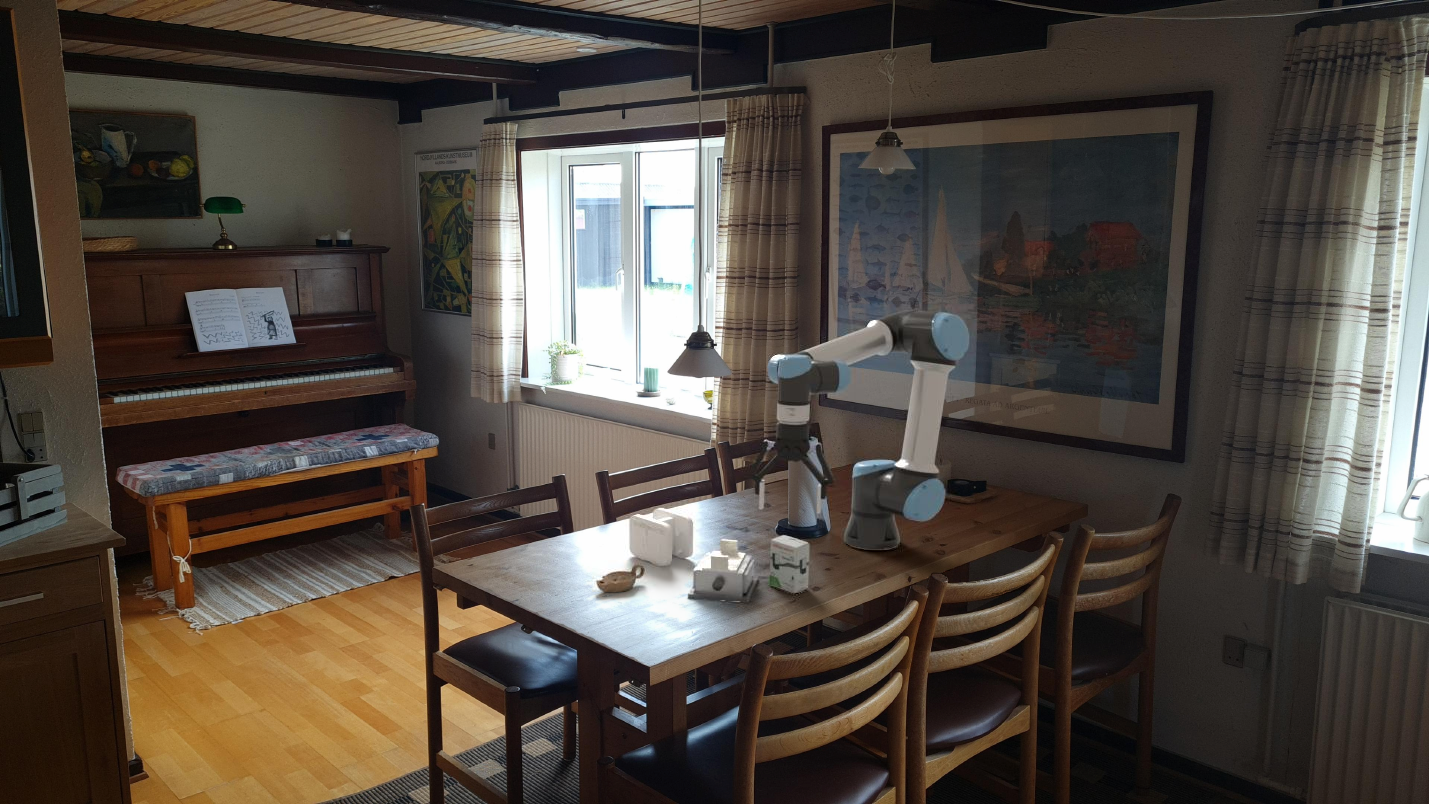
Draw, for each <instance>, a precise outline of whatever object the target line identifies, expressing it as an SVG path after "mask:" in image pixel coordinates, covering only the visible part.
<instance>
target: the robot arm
mask: <svg viewBox="0 0 1429 804" xmlns="http://www.w3.org/2000/svg"><path fill="white" fill-rule="evenodd" d="M969 346H970V333H969V330H968V326H967V325H966V322H965V320H963V318H961V317H960V316H959V315H957V314H954V313H951V312H950V313H949V312H945V311H930V310H929V311H928V310H918V309H907V310H902V311H898V312H895V313H891V314H888V315H886V316H883V317H880V318H877V319H875V320H871V321H870V322H869V323H868V324H867V326H866V327H864V328H862V329H858V330H856V331H853V332H851V333H848V334H845V335H843V336H840V337H837V338H834V339H831V340H829V341H827V342H823V343H821V344H820V343H819V344H818V345H816V346H812V347H810V348H806V349H805V350H801V351H798V352H796V353H793V354H786V353H783V354H776V355H773V356H772V357H771V358H770V360H769V361H768V363H767V375H768V378H769V379H770V381H771V382H772V383H774V384H777V403H776V404H777V407H776V408H777V409H776V420H778V421H777V422H776V431H775V433H776V436H775V441H771V440H769V439H764V440H763V442H762V444H761V445H762V446H761V450H760V453H759V454H758V456H757V458H756V460H755V462H754V464H753V465H752V467H751V468H750V471H749V472H748V474H747V478H748V479H750V480H753V481H754V485H755V486H754V494H755V495H756V496H757V495H758V496H759V498H758V510H763V509H764V507H765V482H766V481H765V479H763V478H764V477H765V476H766V475H767V474H768V473H769V472H770V471H771V470H772V469H773V467H775V465H777V463H778V462H779V461H780V460H781V459H782V461H784V462H794V463H795V462H796V463H798V462H800V461H801V462H802V463H803V464H804V465H805V467H807V469H808V470H809V472H810V473H811V474H812V475H813V477H814V478H815V479H816V480H817V482H818V485H817V497H816V514H818V515H820V514H821V512H822V500H826V498H827V486H828V485H833V484H834V483H835V480H836V479H835V476H834V474H833V471H832V470H831V468H830V465H829V463H828V461H827V458H826V457H825V455H824V451H823V445H822V442H817V443H810V440H809V435H810V424H809V422H808V421H809V420H810V412H811V411H810V410H811V408H810V407H811V395H812V396H813V395H820V394H821V395H822V394H824V395H825V394H836V393H839V392H843V391H844V392H845V390H847V389H848V388H849V387H850V384H851V381H852V380H851V379H852V372H851V369H850V367H849V365H852V364H855V363H857V362H861V361H863V360H865V359H868V358H871V357H873V356H875V355H878V356H887V355H888V354H893V353H895V354H896V353H899V354H901V353H902V354H909V355H910V359H909V362H910V364H912V366H913V368H914V371H913V372H914V373H913V379H912V385H911V386H912V387H911V391H910V392H911V393H910V397H909V398H910V399H909V404H908V411H907V419H906V424H905V425H906V426H905V430H904V431H905V432H904V436H903V437H904V438H903V445H902V451H901V457H900V459H899V460H898V461H895V460H891V459H889V460H888V459H871V460H870V459H869V460H864V461H863V460H862V461H859V462H856V463H855V464H854V466H853V468H852V469H853V470H852V476H851V512H850V513H851V515H850V517H849V520H848V523H847V525H846V527H845V530H844V535H843V542H844V541H845V542H846V543H848V544H850V545H852V546H856V547H860V548H867V549H884V548H892V547H894V546H897V545H898V544H899V543H901V542H900V541H901V540H900V539H901V536H900V534H899V530H898V526H897V523H896V519H895V515H896V516H901V517H903V518H906V519H907V520H909V521H917V522H927V521H930V520H931V519H933V518H934V517H935V516H936V515H937V514H938V513H939V512H940V510H941V509H942V507H943V505H944V503H945V499H946V489H945V485H944V483H943V482H942V481H941V480H940V479H939V473H940V470H939V469H938V467H937V466H936V465H935V462H936V455H937V450H938V449H937V448H938V442H939V435H940V429H941V423H942V416H943V409H944V404H945V397H946V392H947V384H948V379H949V374H950V372H951V371H952V370H954V369H955V368H956V364H957V361H958V360H960V359H962V358H963V357H964V356H965V354H966V353H967V351H968V350H969ZM772 448H773V449H774V450H775V452H777V453H776V455H774V457H773V458H772V459H771V460H770V461H769V462H768V463H767V464H766V465H765V466H764V468H763V469H762V470H761V471H760V472H759V473H756V472H757V471H758V469H759V467H760V465H761V464H762V461H763V459H764V458H765V456H766V454H767V452H768V451H770V450H771V449H772ZM810 450H812V452H813V453H814V454H816V457H817V459H818V461H819V463H820V465H821V468H822V470H823V473H824V475H825V476H824V475H823V474H822V473H821V471H820V470H819V468H818V467H817V466H816V465H815V463H814V462H813V461H812V460H811V458H810V456H809V455H808V454H807V453H809V451H810ZM899 545H900V544H899Z"/></svg>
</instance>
